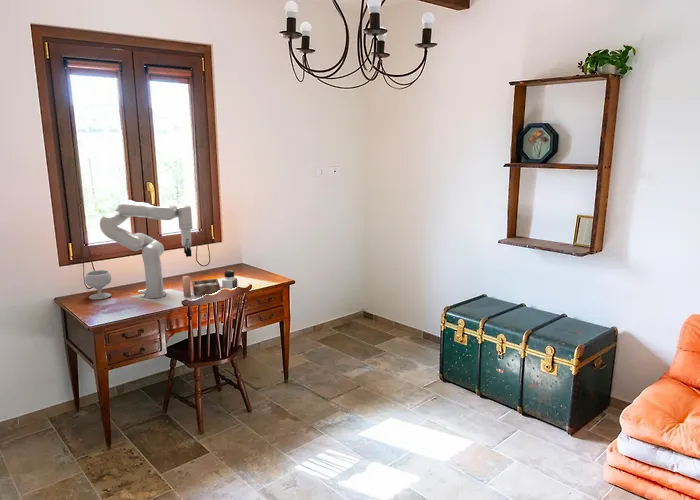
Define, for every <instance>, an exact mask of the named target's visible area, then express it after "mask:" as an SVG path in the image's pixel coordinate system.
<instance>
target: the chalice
mask: <svg viewBox="0 0 700 500" xmlns="http://www.w3.org/2000/svg"><path fill="white" fill-rule="evenodd" d="M84 282H85V285H87V286H88V287H90V288H94V289H95V290H96V291H97V293H95V294H92V295H90V296H89V297H88V298H89V299H90V300H103V299H107V298H110V297H112V294H111V293H109V292H102V290H103V289H104V288H105V287H106V286H108V285H110V284H111V282H112V276H111V273H110V272H109V271H108V270H93V271H89V272H87V273H86V275H85V277H84Z"/></svg>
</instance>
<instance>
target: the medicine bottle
mask: <svg viewBox="0 0 700 500" xmlns="http://www.w3.org/2000/svg"><path fill="white" fill-rule="evenodd" d="M223 274H224V278H223V279H221V284H222V287H221V289H223V288H230V289H232V288H235V287H237V286H239V284H238V278H237V277H235V271H234V270H226V271H224V273H223Z"/></svg>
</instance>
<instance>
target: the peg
mask: <svg viewBox="0 0 700 500" xmlns="http://www.w3.org/2000/svg"><path fill="white" fill-rule="evenodd" d="M190 279H191V278H190V276H189V275H184V276H182V289H183V297H184V298H188V297H189V298H190V297H191V296H192V295H191V294H192V293H191V292H192V291H191V280H190Z"/></svg>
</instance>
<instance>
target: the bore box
mask: <svg viewBox="0 0 700 500" xmlns="http://www.w3.org/2000/svg"><path fill="white" fill-rule="evenodd" d="M220 285H221V284H220V282H219V281H218V278H211V279H200V280H192V292H193V295H194V297H195V296H196V297H202V295H205V294H212V293H215V292H217V291H218V290H220V291H221V286H220Z"/></svg>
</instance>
